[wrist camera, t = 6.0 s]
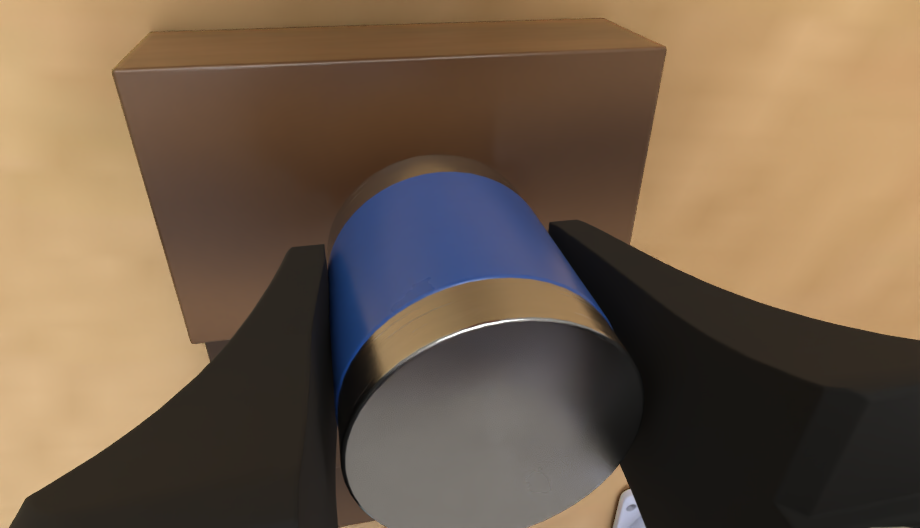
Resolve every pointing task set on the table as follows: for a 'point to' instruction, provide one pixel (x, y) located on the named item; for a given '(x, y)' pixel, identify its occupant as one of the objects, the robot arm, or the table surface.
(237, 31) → the step shelf
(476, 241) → the can
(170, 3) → the table surface
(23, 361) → the table surface
